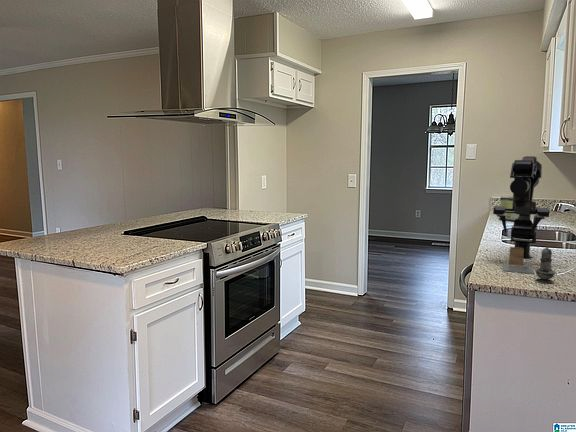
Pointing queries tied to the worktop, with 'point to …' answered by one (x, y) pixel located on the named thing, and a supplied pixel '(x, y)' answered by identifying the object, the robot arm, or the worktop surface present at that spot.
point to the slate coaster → (518, 269)
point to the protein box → (508, 203)
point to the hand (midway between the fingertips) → (518, 233)
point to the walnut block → (516, 256)
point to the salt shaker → (545, 268)
